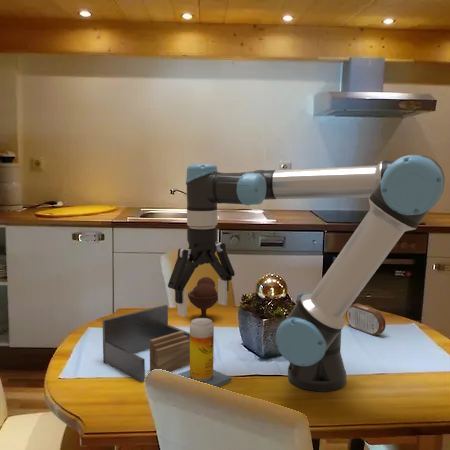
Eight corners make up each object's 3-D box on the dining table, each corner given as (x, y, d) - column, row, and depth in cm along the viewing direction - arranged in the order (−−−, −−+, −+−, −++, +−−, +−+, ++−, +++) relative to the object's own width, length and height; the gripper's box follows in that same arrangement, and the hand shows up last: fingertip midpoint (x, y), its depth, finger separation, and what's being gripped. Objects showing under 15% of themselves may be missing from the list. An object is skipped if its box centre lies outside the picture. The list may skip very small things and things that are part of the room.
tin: (385, 337, 173) (387, 311, 172) (379, 339, 172) (380, 313, 170) (350, 324, 186) (351, 300, 184) (343, 325, 184) (345, 301, 183)
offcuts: (190, 365, 150) (190, 333, 148) (158, 376, 142) (157, 343, 141) (181, 361, 152) (181, 330, 151) (149, 372, 145) (149, 339, 143)
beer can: (210, 383, 136) (210, 326, 134) (186, 380, 137) (187, 324, 135) (215, 373, 142) (216, 318, 139) (193, 371, 143) (193, 316, 141)
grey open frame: (205, 359, 153) (206, 319, 151) (141, 382, 138) (141, 337, 136) (165, 342, 166) (165, 304, 165) (103, 361, 151) (102, 320, 150)
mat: (231, 381, 139) (231, 377, 139) (199, 394, 132) (199, 390, 132) (203, 368, 147) (203, 364, 147) (171, 380, 140) (171, 376, 140)
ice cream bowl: (187, 315, 193) (187, 274, 191) (218, 314, 194) (218, 274, 192) (188, 325, 182) (188, 282, 180) (221, 324, 184) (221, 281, 181)
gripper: (227, 220, 145) (228, 297, 148) (152, 230, 128) (154, 317, 131) (248, 223, 140) (247, 302, 142) (171, 233, 122) (173, 324, 125)
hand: (203, 309), depth 137 cm, fingers open, 13 cm apart
